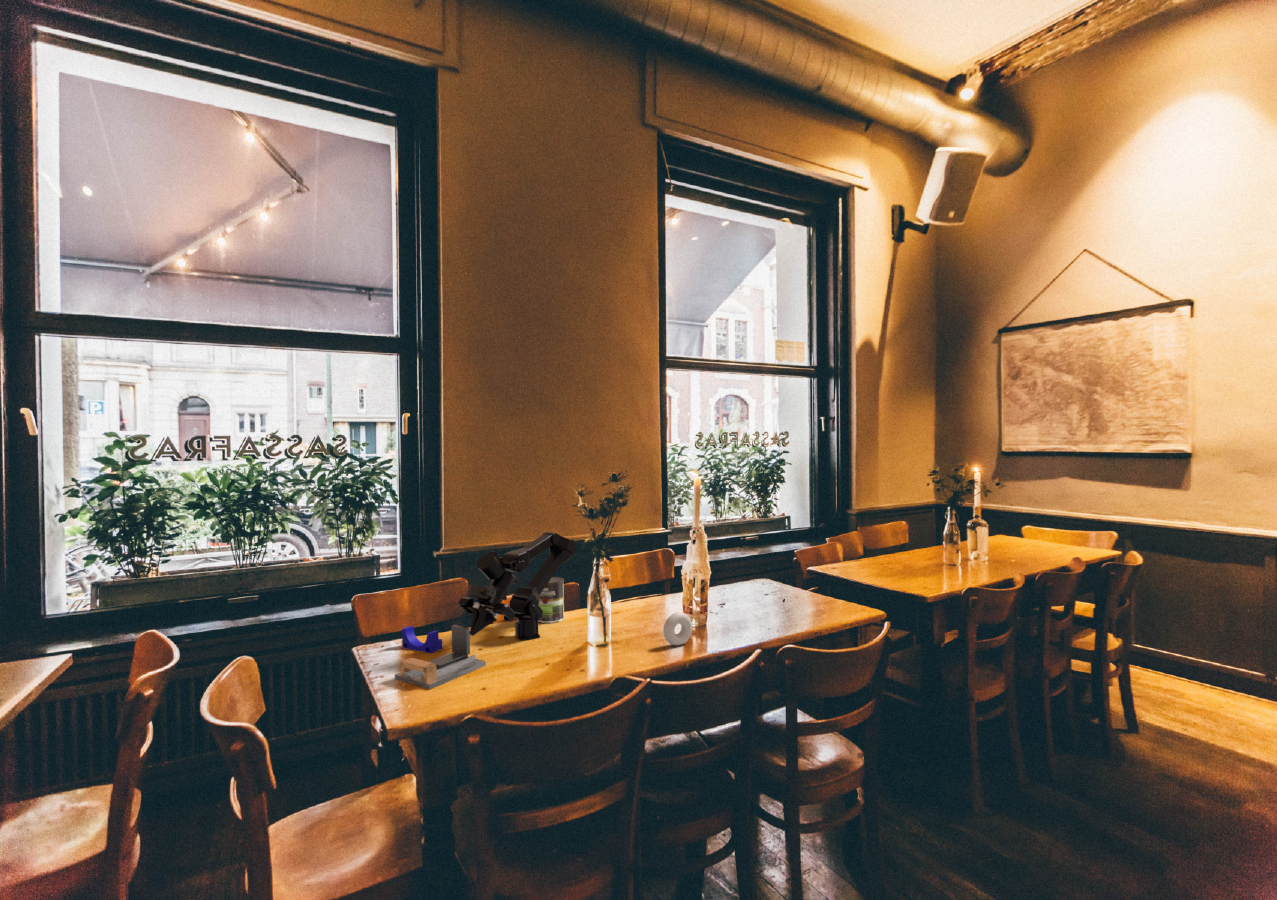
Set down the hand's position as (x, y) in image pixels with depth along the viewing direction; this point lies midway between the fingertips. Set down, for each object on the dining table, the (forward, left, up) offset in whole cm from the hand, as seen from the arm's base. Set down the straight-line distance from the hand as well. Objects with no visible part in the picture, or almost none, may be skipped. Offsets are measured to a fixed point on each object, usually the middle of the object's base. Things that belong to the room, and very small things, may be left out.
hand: (471, 634), depth 172 cm
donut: (-58, +20, -7) cm, 61 cm away
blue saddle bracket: (+11, -18, -8) cm, 22 cm away
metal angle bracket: (+7, +4, -6) cm, 10 cm away
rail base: (+9, +5, -7) cm, 13 cm away
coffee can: (-34, -27, -7) cm, 44 cm away
